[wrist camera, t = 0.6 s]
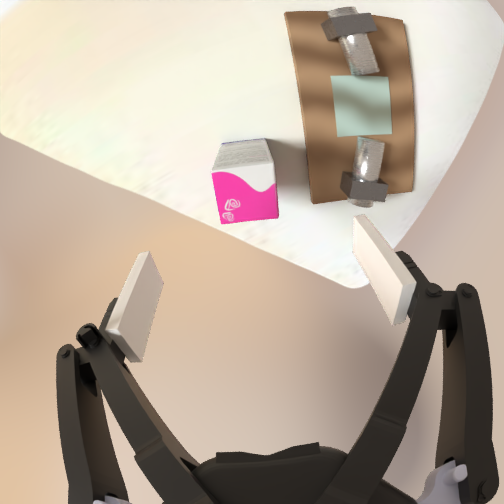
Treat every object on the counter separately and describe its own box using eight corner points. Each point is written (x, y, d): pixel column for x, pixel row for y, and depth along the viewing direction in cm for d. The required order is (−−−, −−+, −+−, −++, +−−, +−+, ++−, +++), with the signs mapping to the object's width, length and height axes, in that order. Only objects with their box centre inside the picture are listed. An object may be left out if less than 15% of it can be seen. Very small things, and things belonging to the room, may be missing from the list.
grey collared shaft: (316, 16, 22) (326, 9, 19) (354, 11, 21) (366, 4, 18) (341, 77, 27) (353, 77, 24) (377, 70, 26) (391, 70, 23)
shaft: (347, 134, 31) (359, 139, 28) (382, 140, 31) (396, 146, 28) (338, 195, 36) (347, 206, 33) (371, 197, 36) (382, 209, 33)
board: (284, 14, 23) (285, 11, 22) (398, 21, 22) (403, 19, 21) (311, 200, 37) (313, 204, 36) (408, 188, 36) (412, 192, 35)
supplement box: (219, 143, 32) (210, 168, 23) (266, 137, 32) (278, 160, 23) (225, 185, 36) (220, 226, 26) (270, 180, 36) (282, 219, 26)
